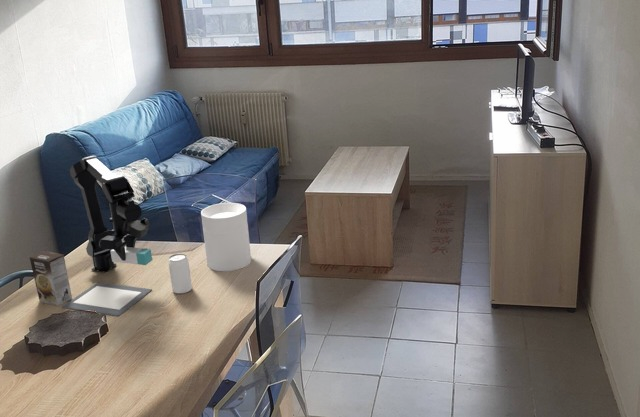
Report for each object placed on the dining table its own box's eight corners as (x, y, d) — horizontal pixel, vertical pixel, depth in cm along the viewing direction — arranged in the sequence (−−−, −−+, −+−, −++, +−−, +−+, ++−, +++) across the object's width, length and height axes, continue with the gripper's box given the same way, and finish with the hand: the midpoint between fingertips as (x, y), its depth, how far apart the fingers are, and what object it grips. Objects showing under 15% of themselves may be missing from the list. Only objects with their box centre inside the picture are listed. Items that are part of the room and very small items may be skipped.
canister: (199, 269, 227) (192, 217, 221) (218, 251, 242) (213, 201, 235) (240, 273, 223) (235, 219, 216) (257, 254, 237) (253, 203, 230)
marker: (112, 261, 213) (110, 250, 212) (119, 256, 217) (117, 246, 215) (145, 265, 209) (143, 254, 208) (152, 260, 212) (150, 249, 211)
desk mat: (62, 307, 205) (61, 306, 205) (98, 283, 221) (97, 281, 221) (118, 316, 198) (118, 314, 198) (151, 290, 214) (151, 288, 213)
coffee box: (38, 301, 210) (28, 257, 205) (54, 293, 216) (44, 249, 210) (57, 306, 206) (47, 261, 201) (73, 298, 212) (64, 253, 206)
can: (190, 293, 210) (185, 260, 206) (170, 294, 210) (165, 261, 206) (194, 285, 216) (189, 252, 212) (175, 285, 216) (170, 253, 212)
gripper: (124, 226, 197) (132, 272, 202) (157, 205, 213) (163, 248, 219) (94, 223, 200) (102, 268, 206) (129, 203, 217) (136, 246, 222)
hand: (127, 257), depth 213 cm, fingers closed on marker, 4 cm apart
